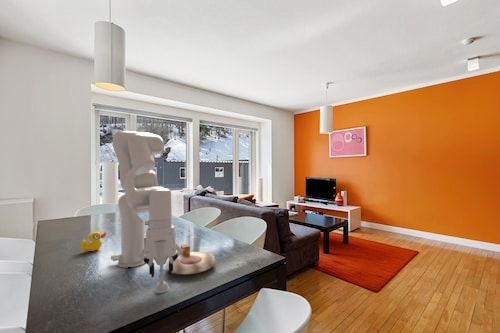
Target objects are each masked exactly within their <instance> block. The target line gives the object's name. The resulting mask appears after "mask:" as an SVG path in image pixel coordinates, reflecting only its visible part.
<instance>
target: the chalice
mask: <svg viewBox="0 0 500 333" xmlns="http://www.w3.org/2000/svg"><path fill="white" fill-rule="evenodd" d="M165 242H166V241H163V242H154V243H155V244H156V249H157V257H158V258H154V259H153V261H155V263H156V266H159V276H158V277H159V281H158V282H157V283H156V285H155V288H154V292H155V293H156V294H162V293H167V291H170V286H169V284H168V282H167V281H165V280H164V277H165V274H164V271H165V270H164V268H163V267H164V265H166V264H167V261H168V260H169V258H168V257H163V256H164V244H165Z"/></svg>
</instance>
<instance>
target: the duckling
mask: <svg viewBox="0 0 500 333" xmlns="http://www.w3.org/2000/svg"><path fill="white" fill-rule="evenodd" d="M106 236H107V232H106V231H105V232H104V233H101V232H100V231H93V232H91V233H89V234H88V236H87V238H88V240H89V241H91V243H88V242H87V240H86V239H82V241H81V243H80V248H81V250H82V251H83V252H86V253H87V252H88V251H92V252H96V251H95V250H97V251H98V250H100V249H101V247H102V245H103V242H102V240H101V239H104V238H105V237H106ZM88 253H89V252H88Z"/></svg>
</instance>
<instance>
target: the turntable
mask: <svg viewBox="0 0 500 333" xmlns="http://www.w3.org/2000/svg"><path fill="white" fill-rule="evenodd" d="M180 248H181V249H182V250H183V253H182V254H181V255H180V256H178V258H177V259H176V260H175V261H174V262H173V271H171V274H176V275H195V274H198V273H202V272H205V271H207V270H210V269H211V268H212V267H213V266H215V263H216V258H215V255H214V254H212V253H210V252H207V251H191V246H190V245H189V244H188V243H185V244H180ZM166 270H167V271H168V272H169V259H167V261H166Z"/></svg>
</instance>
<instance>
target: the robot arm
mask: <svg viewBox="0 0 500 333" xmlns="http://www.w3.org/2000/svg"><path fill="white" fill-rule="evenodd" d="M112 147H113V151H114V154H115V155H116V159H117V160H118V168H119V182H120V183H119V184H120V187H121V189H123V191H124V192H125V194H122V195H121V196H120V197H119V198H118V201H117V204H118V205H117V206H118V211H119V216H120V240H121V243H120V246H121V249H120V250H121V253H119V254H112V255H111V256H110V260H111V261H112V262H116V261H117V266H118V267H119V268H122V267H123V268H125V269H126V268H127V269H128V267H131V268H135V267H140V266H143V265H144V264H147V267H149V268H148V270H149V272H148V273H149V275H151V278H154V277H155V263H154V258H158V257H157V249H156V244H155V243H154V242H163V241H166V242H165V244H164V256H163V257H168V260H169V271H168V275H169V276H171V275H172V272H171V271H173V262H174V261H175V260H176V259H177V258H178V256H180V255H181V254H182V253H183V250H182V249H181V246H179V245H178V244H177V237H176V231H175V226H174V225H173V220H172V219H173V216H172V212H173V211H172V191H171V190H170V189H169V188H165V187H163V186H159V181H158V180H159V179H158V176H157V174H156V171H154V169H155V167H156V161H155V157H154V155H160V154H162V153H163V152H164V150H165V143H164V139H163V138H162V137H161V136H160V135H158V134H155V133H152V132H146V131H145V132H142V131H133V130H131V131H130V130H121V131H116V132H115V133H114V134H113V136H112ZM144 213H148V220H146V221H143V219H142V217H140V216H139V214H144ZM145 226H148V228H147V229H146V232H145ZM139 265H140V266H139Z"/></svg>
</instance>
